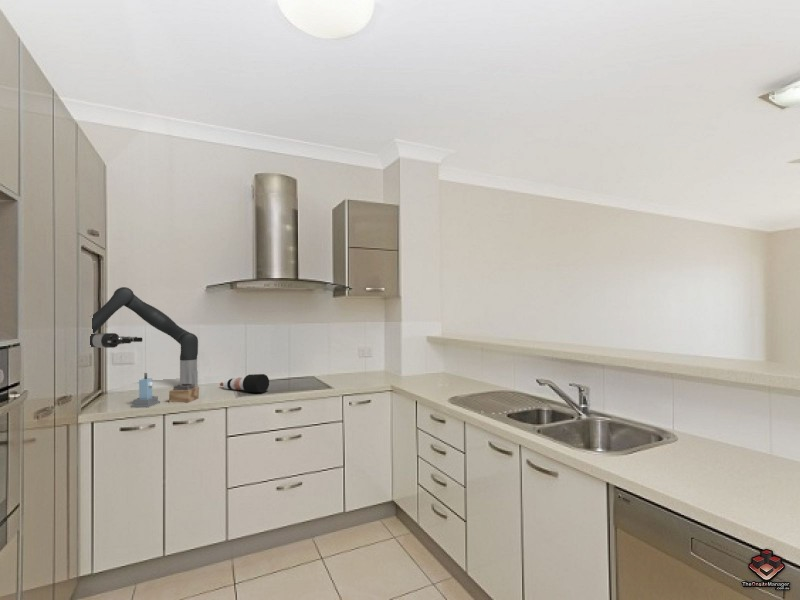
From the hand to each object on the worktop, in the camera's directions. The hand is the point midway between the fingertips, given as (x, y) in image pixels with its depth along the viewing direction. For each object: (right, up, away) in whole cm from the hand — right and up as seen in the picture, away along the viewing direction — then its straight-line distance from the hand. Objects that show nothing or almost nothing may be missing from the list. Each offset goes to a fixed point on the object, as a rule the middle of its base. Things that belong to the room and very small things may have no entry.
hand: (136, 340), depth 209 cm
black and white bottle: (+44, -32, +26) cm, 61 cm away
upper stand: (+23, -32, +3) cm, 40 cm away
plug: (+9, -31, -7) cm, 33 cm away
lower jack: (+9, -32, -7) cm, 34 cm away
